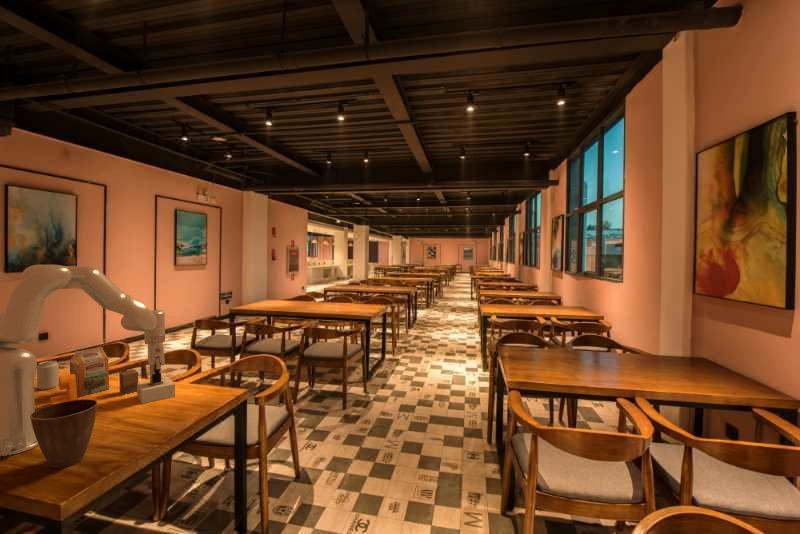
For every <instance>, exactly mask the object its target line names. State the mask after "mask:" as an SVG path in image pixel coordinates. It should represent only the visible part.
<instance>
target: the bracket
mask: <svg viewBox="0 0 800 534" xmlns="http://www.w3.org/2000/svg"><path fill="white" fill-rule="evenodd" d="M58 387H59V390H60V391H61V390H65V394H63V395H58V396H53V397H50V399H49V403H50V405H53V404H57V403H61V402H66V401H72V400H79V398H78V396H77V387H76V377H75V374H71V375H70V374H66V375H62V376H60V375H59V385H58Z"/></svg>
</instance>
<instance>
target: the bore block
mask: <svg viewBox="0 0 800 534" xmlns="http://www.w3.org/2000/svg"><path fill="white" fill-rule="evenodd" d="M161 381H162V384H161V385H156V386H150V380H148V381H141V382H138V383H137V392H136V394H137V398H138V399H139V401H140V403H141V404H142V405H144V404H148V403H152V402H157V401H161V400H166V399H171V398H175V397H176V385H175V382H173V380H172V379H171V378H170V377H164V378H161Z"/></svg>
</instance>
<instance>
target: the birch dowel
mask: <svg viewBox="0 0 800 534" xmlns="http://www.w3.org/2000/svg"><path fill="white" fill-rule="evenodd" d="M160 363H161V362H160ZM160 365H161V364H160ZM154 366H156V365H154ZM161 366H162V365H161ZM152 374H153V367H151V366H150V365H149V381H150V386H156V385H161V384H162V381H161V382H158V383H152Z"/></svg>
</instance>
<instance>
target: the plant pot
mask: <svg viewBox="0 0 800 534" xmlns="http://www.w3.org/2000/svg"><path fill="white" fill-rule="evenodd" d="M97 407H98V401H97V400H95V399H91V398H90V399H88V398H85V399H78V400H72V401H66V402H61V403H57V404H53V405H51V404H50V405H47V406H44V407H41V408H39V409H37V410H35V412H33V413H32V414H31V415H30V418H31V423H32V427H33V431H34V434H35V437H36V439H37V442H38V444H39V445H38V447H39V449H40V451H41V453H42V455H43V456H44V459H45V460H46V462H47V464H48V465H49V467H51V469H52V468H53V469H61V468H63V469H64V468H66V467H70V466H73V465H75V464H78V463H79V462H81V461H82V460H84V458H85V455H86V452H87V449H88V446H89V444H90V441H91V437H92V434H93V430H94V426H95V421H96V416H97V409H98V408H97Z"/></svg>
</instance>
